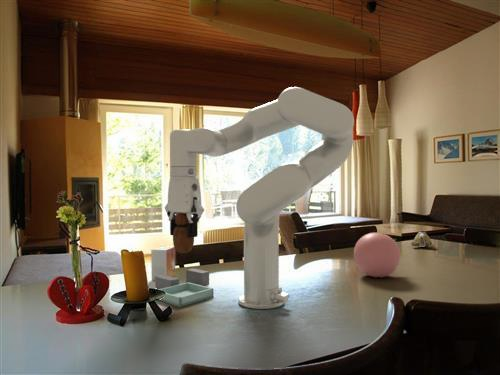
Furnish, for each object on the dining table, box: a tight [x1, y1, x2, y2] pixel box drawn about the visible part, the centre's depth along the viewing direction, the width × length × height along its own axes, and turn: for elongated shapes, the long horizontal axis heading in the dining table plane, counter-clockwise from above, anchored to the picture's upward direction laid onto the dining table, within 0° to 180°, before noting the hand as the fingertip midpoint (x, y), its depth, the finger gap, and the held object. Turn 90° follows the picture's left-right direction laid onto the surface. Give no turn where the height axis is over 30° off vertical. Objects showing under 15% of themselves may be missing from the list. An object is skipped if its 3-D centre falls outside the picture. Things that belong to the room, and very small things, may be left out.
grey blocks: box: [154, 267, 210, 289], centre depth 127 cm, size 8×15×4 cm, turn 139°
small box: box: [150, 246, 176, 281], centre depth 138 cm, size 8×6×10 cm
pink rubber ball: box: [353, 232, 401, 278], centre depth 139 cm, size 15×20×15 cm
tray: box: [159, 282, 214, 308], centre depth 114 cm, size 11×12×2 cm
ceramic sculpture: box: [410, 230, 435, 248], centre depth 201 cm, size 11×9×15 cm
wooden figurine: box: [172, 213, 195, 254], centre depth 113 cm, size 7×6×15 cm
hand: (183, 235), depth 113 cm, fingers closed on wooden figurine, 7 cm apart
